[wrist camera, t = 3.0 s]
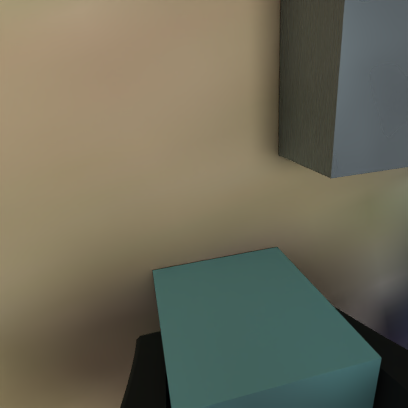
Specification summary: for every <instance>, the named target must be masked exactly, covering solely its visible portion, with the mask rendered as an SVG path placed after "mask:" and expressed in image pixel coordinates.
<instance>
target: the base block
mask: <svg viewBox="0 0 408 408" xmlns="http://www.w3.org/2000/svg"><path fill="white" fill-rule="evenodd" d="M279 155H280V156H282V157H284V158H286V159H289V160H291V161H293V162H295V163H298V164H300V165H302V166H304V167H307V168H309V169H311V170H313V171H316V172H318V173H320V174H322V175H325V176H327V177H329V178H336V177H343V176H350V175H356V174H363V173H370V172H377V171H383V170H390V169H397V168H403V167H408V0H281V28H280V101H279Z"/></svg>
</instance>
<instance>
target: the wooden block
mask: <svg viewBox="0 0 408 408" xmlns="http://www.w3.org/2000/svg"><path fill="white" fill-rule="evenodd" d="M153 277H154V285H155V292H156V299H157V306H158V314H159V321H160V328H161V335H162V343H163V350H164V357H165V365H166V372H167V379H168V386H169V394H170V401H171V408H373V403H374V397H375V392H376V386H377V380H378V375H379V369H380V364H381V357H380V356H379V355H378V353H377V352H376V351H375V350H374V349H373V348H372V347H371V346H370V345H369V344H368V343H367V342H366V341H365V340H364V339H363V338H362V336H361V335H360V334H359V333H358V332H357V331H356V330H355V329H354V328H353V327H352V326H351V325H350V324H349V323H348V322H347V321H346V319H345V318H344V317H343V316H342V315H341V314H340V313H339V312H338V311H337V310H336V309H335V308H334V307H333V306H332V305H331V304H330V302H329V301H328V300H327V299H326V298H325V297H324V296H323V295H322V294H321V293H320V292H319V291H318V290H317V289H316V288H315V287H314V286H313V284H312V283H311V282H310V281H309V280H308V279H307V278H306V277H305V276H304V275H303V274H302V273H301V272H300V271H299V270H298V269H297V267H296V266H295V265H294V264H293V263H292V262H291V261H290V260H289V259H288V258H287V257H286V256H285V255H284V254H283V253H282V252H281V250H280V249H279V248H278V247H275V248H269V249H264V250H259V251H253V252H248V253H243V254H237V255H232V256H227V257H221V258H216V259H211V260H205V261H200V262H195V263H189V264H184V265H179V266H173V267H168V268H163V269H157V270H153Z"/></svg>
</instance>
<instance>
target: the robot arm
mask: <svg viewBox="0 0 408 408" xmlns="http://www.w3.org/2000/svg"><path fill="white" fill-rule="evenodd" d="M333 307H334V306H333ZM334 308H335V307H334ZM335 309H336V310H337V311H338V312H339V313H340V314H341V315H342V316H343V317H344V318H345V319H346V321H347V322H348V323H349V324H350V325H351V326H352V327H353V328H354V329H355V330H356V331H357V332H358V333H359V334H360V335H361V336H362V338H363V339H364V340H365V341H366V342H367V343H368V344H369V345H370V346H371V347H372V348H373V349H374V350H375V351H376V352H377V353H378V355H379V356H380V357H381V364H380V369H379V375H378V380H377V386H376V392H375V397H374V403H373V408H408V350H407V349H405V348H403V347H401V346H400V345H398V344H396V343H394V342H392V341H391V340H389V339H387V338H385V337H384V336H382V335H380V334H379V333H377V332H375V331H374V330H372V329H370V328H368V327H367V326H365V325H363V324H362V323H360V322H358V321H357V320H355V319H353V318H352V317H350V316H349V315H347V314H345V313H344V312H342V311H340V310H339V309H337V308H335ZM120 408H171V401H170V394H169V386H168V379H167V372H166V365H165V357H164V350H163V343H162V335H161V331H160V332H155V333H151V334H146V335H142V336H140V337H139V338H138V339H137V341H136V349H135V355H134V360H133V364H132V369H131V373H130V377H129V380H128V384H127V388H126V391H125V394H124V398H123V401H122V404H121V407H120Z"/></svg>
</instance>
